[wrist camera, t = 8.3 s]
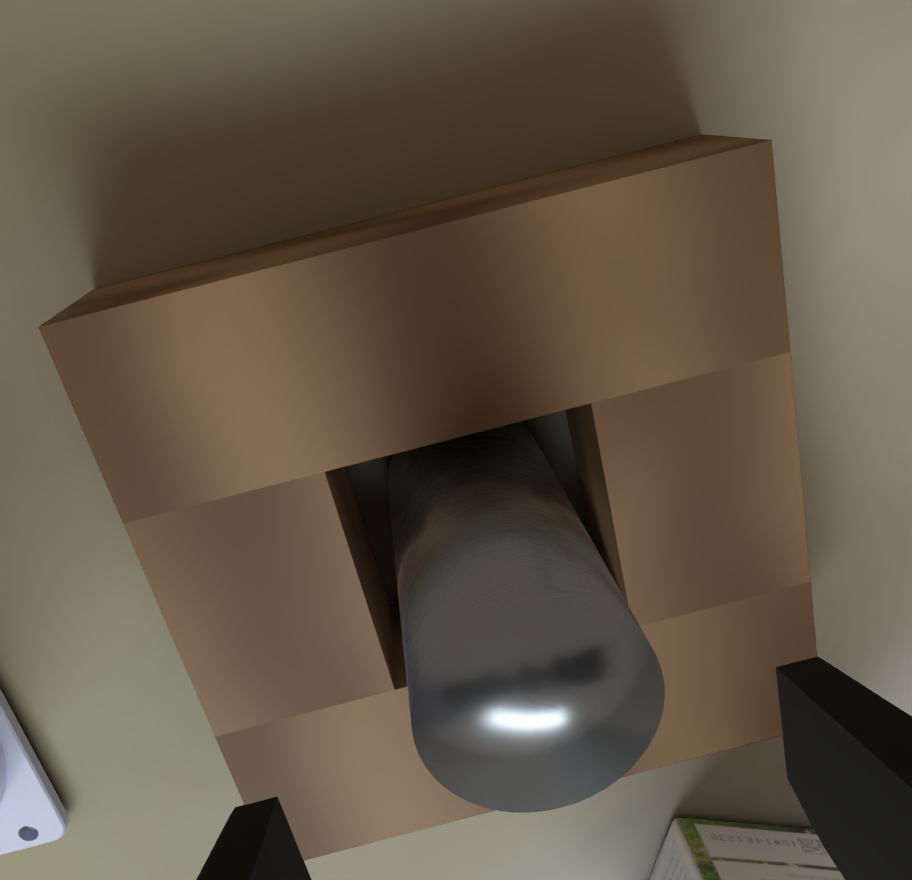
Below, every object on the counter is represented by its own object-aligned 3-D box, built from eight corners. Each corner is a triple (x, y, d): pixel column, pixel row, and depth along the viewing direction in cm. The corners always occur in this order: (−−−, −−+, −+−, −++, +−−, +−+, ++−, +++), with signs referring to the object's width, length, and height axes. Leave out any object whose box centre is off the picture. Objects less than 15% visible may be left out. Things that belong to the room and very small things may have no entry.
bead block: (284, 766, 24) (272, 868, 21) (93, 289, 19) (38, 327, 16) (761, 642, 24) (822, 724, 21) (701, 134, 19) (771, 140, 16)
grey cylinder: (406, 564, 22) (440, 837, 14) (370, 424, 21) (384, 636, 13) (556, 529, 22) (677, 778, 14) (530, 387, 21) (650, 573, 13)
